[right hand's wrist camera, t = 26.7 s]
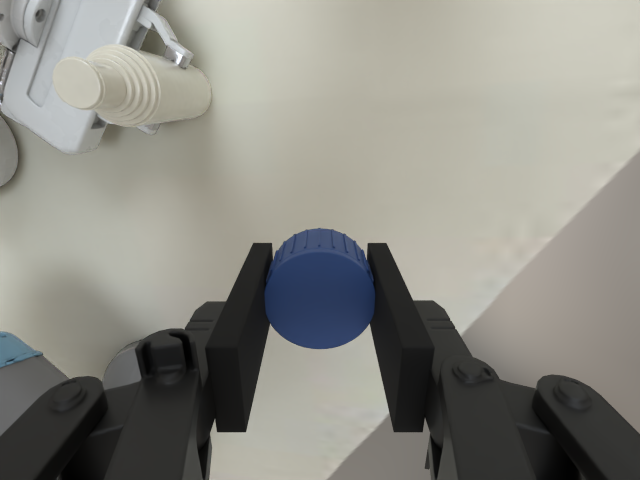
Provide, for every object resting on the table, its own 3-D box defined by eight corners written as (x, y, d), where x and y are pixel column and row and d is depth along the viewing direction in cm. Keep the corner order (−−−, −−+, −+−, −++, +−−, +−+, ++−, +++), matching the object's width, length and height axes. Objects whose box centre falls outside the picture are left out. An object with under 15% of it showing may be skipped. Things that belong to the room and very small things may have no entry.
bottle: (187, 51, 37) (71, 7, 20) (222, 98, 39) (143, 96, 21) (149, 84, 38) (7, 71, 21) (184, 129, 40) (80, 150, 22)
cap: (250, 271, 15) (237, 301, 12) (321, 205, 14) (321, 226, 11) (318, 331, 16) (317, 368, 14) (389, 274, 15) (401, 304, 13)
